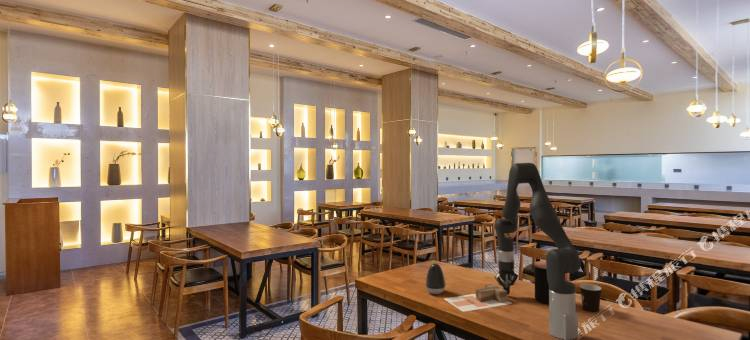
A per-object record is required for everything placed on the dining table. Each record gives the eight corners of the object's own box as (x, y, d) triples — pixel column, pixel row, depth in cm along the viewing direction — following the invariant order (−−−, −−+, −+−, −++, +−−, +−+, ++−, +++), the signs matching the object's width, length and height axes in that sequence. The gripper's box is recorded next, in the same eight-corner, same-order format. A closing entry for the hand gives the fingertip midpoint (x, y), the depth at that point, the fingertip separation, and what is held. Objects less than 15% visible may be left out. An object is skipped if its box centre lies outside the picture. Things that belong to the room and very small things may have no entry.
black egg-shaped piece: (422, 294, 199) (422, 265, 199) (429, 288, 208) (429, 260, 208) (441, 297, 194) (441, 267, 194) (448, 291, 204) (447, 262, 203)
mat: (513, 304, 183) (512, 303, 183) (462, 312, 175) (462, 311, 174) (490, 292, 200) (489, 291, 200) (443, 299, 192) (443, 298, 192)
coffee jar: (561, 306, 180) (561, 267, 179) (537, 305, 182) (536, 266, 181) (555, 298, 190) (555, 261, 190) (532, 297, 192) (532, 260, 192)
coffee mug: (601, 314, 169) (601, 291, 169) (579, 310, 174) (579, 288, 173) (602, 305, 179) (602, 284, 179) (581, 302, 184) (580, 281, 183)
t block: (507, 301, 186) (506, 291, 186) (485, 305, 182) (485, 294, 182) (491, 293, 197) (491, 283, 197) (471, 296, 193) (471, 286, 193)
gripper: (499, 262, 187) (500, 298, 187) (522, 259, 191) (522, 294, 191) (490, 259, 194) (490, 293, 194) (512, 256, 198) (512, 290, 198)
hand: (506, 294), depth 193 cm, fingers closed
